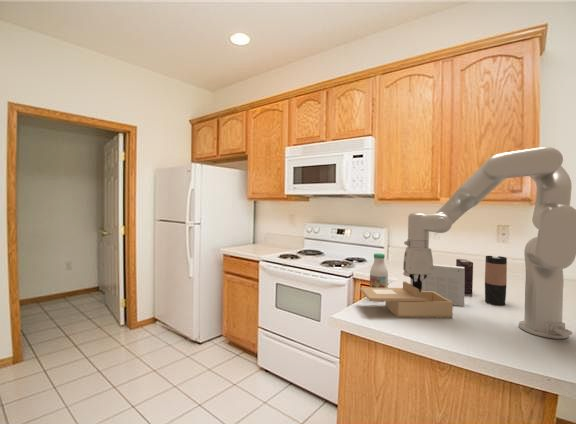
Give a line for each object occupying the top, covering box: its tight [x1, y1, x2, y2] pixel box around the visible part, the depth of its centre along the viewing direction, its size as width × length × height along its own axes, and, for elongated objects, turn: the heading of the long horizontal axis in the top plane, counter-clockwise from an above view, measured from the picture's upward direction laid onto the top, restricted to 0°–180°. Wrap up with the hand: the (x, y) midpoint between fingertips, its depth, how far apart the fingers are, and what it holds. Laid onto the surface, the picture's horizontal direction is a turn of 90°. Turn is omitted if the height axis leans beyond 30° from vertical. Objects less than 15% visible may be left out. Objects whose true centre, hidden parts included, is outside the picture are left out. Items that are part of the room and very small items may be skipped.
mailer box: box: [384, 291, 454, 319], centre depth 116 cm, size 14×20×6 cm
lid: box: [359, 280, 425, 302], centre depth 115 cm, size 14×20×4 cm
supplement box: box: [455, 258, 474, 297], centre depth 141 cm, size 9×5×16 cm, turn 168°
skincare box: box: [409, 263, 465, 307], centre depth 130 cm, size 21×6×16 cm, turn 57°
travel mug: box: [484, 255, 508, 307], centre depth 127 cm, size 8×8×20 cm
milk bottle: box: [369, 253, 389, 288], centre depth 131 cm, size 8×8×20 cm
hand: (417, 290), depth 116 cm, fingers closed
